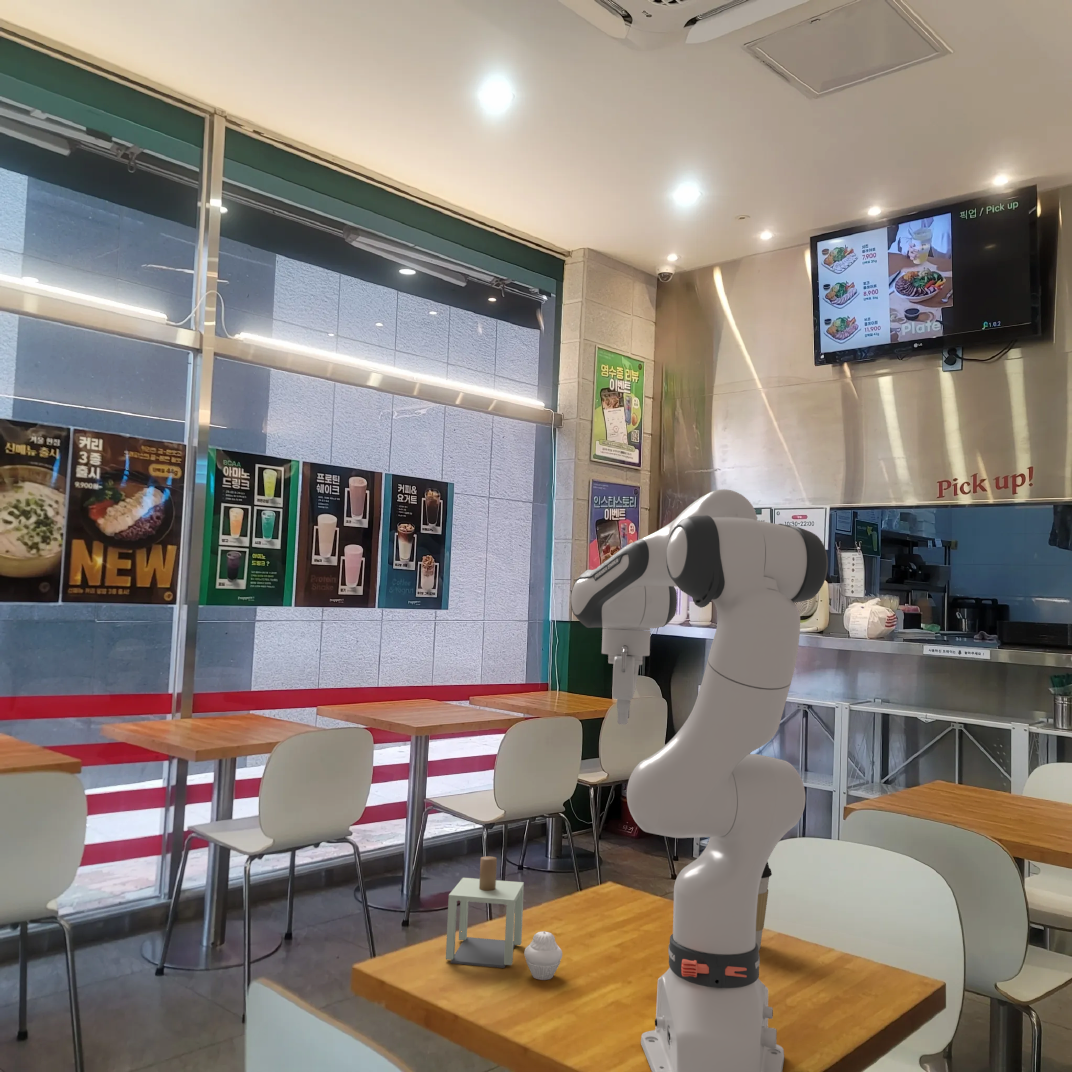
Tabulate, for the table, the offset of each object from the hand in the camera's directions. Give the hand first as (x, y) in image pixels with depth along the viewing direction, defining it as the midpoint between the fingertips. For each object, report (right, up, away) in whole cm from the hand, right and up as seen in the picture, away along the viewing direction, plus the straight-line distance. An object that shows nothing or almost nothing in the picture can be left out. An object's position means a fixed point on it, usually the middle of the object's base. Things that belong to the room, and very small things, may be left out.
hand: (623, 721), depth 168 cm
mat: (-25, -37, -12) cm, 46 cm away
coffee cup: (+21, -40, -3) cm, 45 cm away
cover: (-25, -37, -12) cm, 46 cm away
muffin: (-15, -37, -21) cm, 45 cm away
